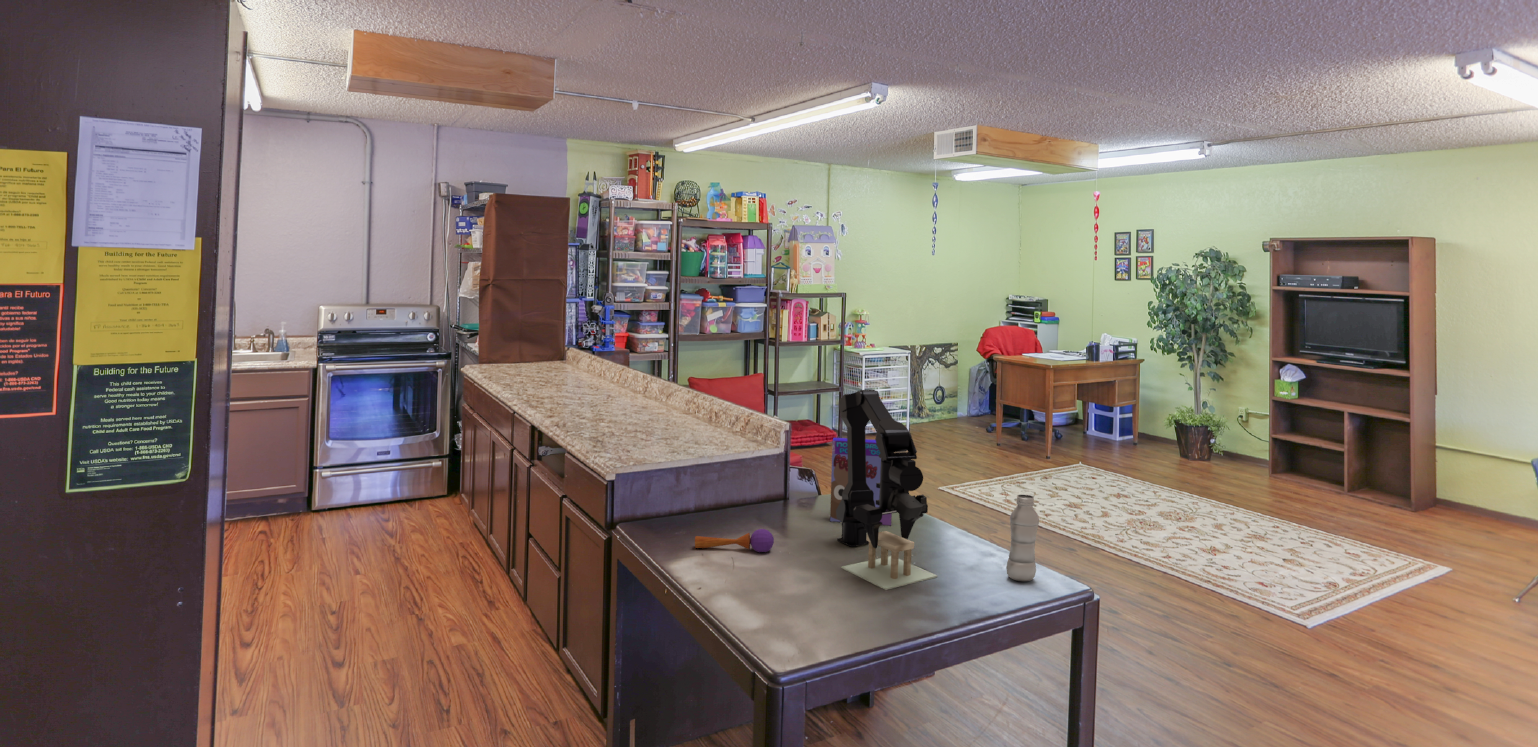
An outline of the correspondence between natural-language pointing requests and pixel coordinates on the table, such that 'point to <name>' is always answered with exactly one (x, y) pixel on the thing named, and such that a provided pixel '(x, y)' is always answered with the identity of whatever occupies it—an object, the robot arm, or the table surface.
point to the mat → (888, 574)
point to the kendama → (740, 541)
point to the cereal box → (841, 474)
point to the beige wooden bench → (895, 546)
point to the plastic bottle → (1023, 540)
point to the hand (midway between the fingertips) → (889, 544)
